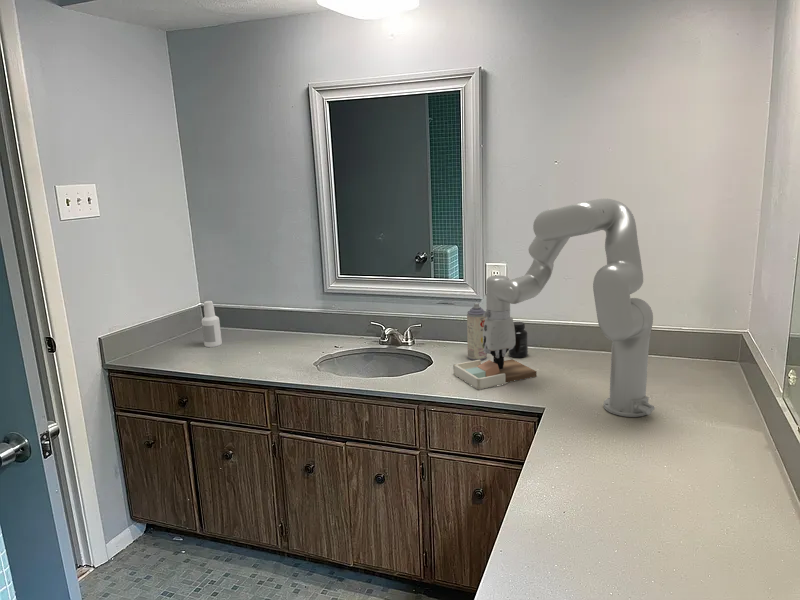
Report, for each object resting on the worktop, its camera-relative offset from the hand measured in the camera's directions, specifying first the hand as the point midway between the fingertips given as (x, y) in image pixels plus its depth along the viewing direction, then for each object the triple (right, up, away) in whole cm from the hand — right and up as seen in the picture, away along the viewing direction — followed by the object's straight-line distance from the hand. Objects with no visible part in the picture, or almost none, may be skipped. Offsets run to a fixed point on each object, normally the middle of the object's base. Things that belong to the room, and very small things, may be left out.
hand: (498, 368), depth 202 cm
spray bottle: (-108, +4, +47) cm, 118 cm away
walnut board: (+4, -2, +2) cm, 5 cm away
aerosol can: (-5, +1, +19) cm, 19 cm away
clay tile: (-3, -2, -1) cm, 4 cm away
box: (-7, -3, -2) cm, 8 cm away
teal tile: (-8, -3, -3) cm, 9 cm away
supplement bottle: (+10, +2, +20) cm, 22 cm away
